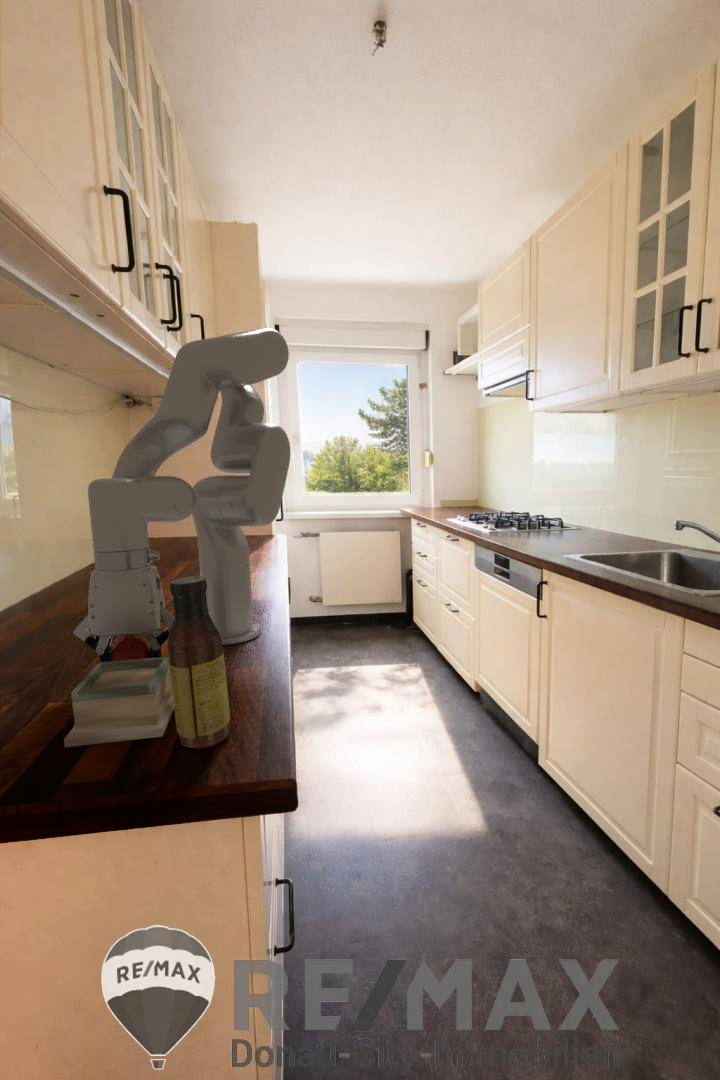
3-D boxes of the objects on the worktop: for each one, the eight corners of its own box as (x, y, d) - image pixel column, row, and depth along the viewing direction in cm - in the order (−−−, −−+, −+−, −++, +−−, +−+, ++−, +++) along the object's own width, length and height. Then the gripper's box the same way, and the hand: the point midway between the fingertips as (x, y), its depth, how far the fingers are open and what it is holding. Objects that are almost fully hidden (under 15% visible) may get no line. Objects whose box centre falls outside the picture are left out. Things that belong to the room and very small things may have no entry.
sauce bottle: (236, 723, 61) (227, 572, 59) (224, 751, 55) (213, 584, 52) (184, 725, 61) (173, 573, 58) (166, 753, 55) (153, 585, 52)
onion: (155, 683, 74) (151, 634, 72) (114, 692, 71) (109, 641, 70) (151, 670, 79) (147, 623, 77) (112, 678, 76) (107, 630, 75)
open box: (99, 700, 68) (95, 659, 67) (180, 693, 70) (177, 652, 69) (64, 747, 57) (59, 698, 56) (162, 736, 59) (158, 688, 58)
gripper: (186, 553, 77) (194, 660, 80) (70, 559, 74) (82, 669, 77) (178, 562, 70) (186, 678, 72) (49, 568, 67) (62, 690, 69)
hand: (132, 672), depth 74 cm, fingers closed on onion, 5 cm apart
